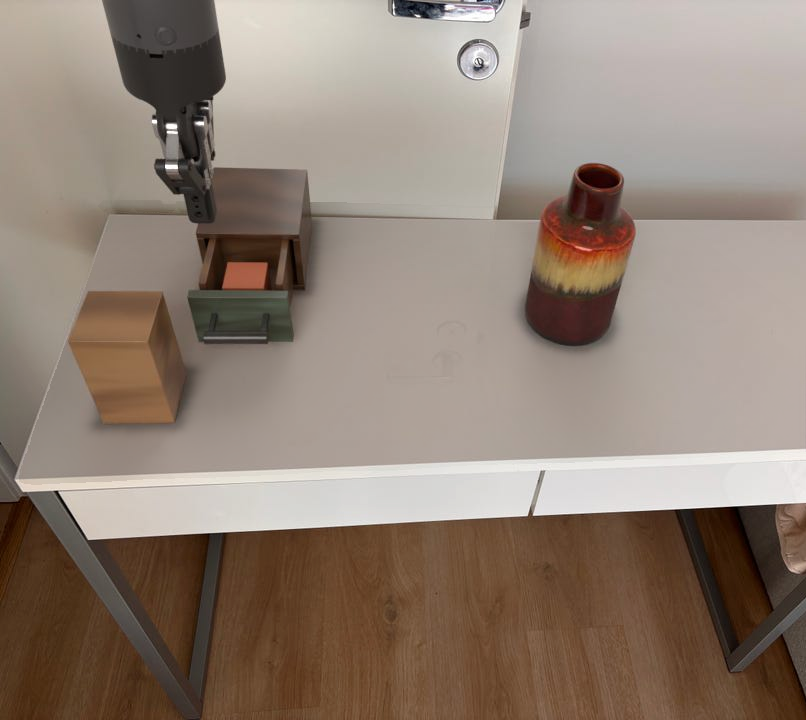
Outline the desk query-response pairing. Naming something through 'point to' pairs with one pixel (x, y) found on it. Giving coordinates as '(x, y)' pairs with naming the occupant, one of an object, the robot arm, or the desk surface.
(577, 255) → the vase
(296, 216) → the cabinet
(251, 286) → the block
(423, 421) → the desk surface
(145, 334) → the stand
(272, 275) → the drawer
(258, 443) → the desk surface
